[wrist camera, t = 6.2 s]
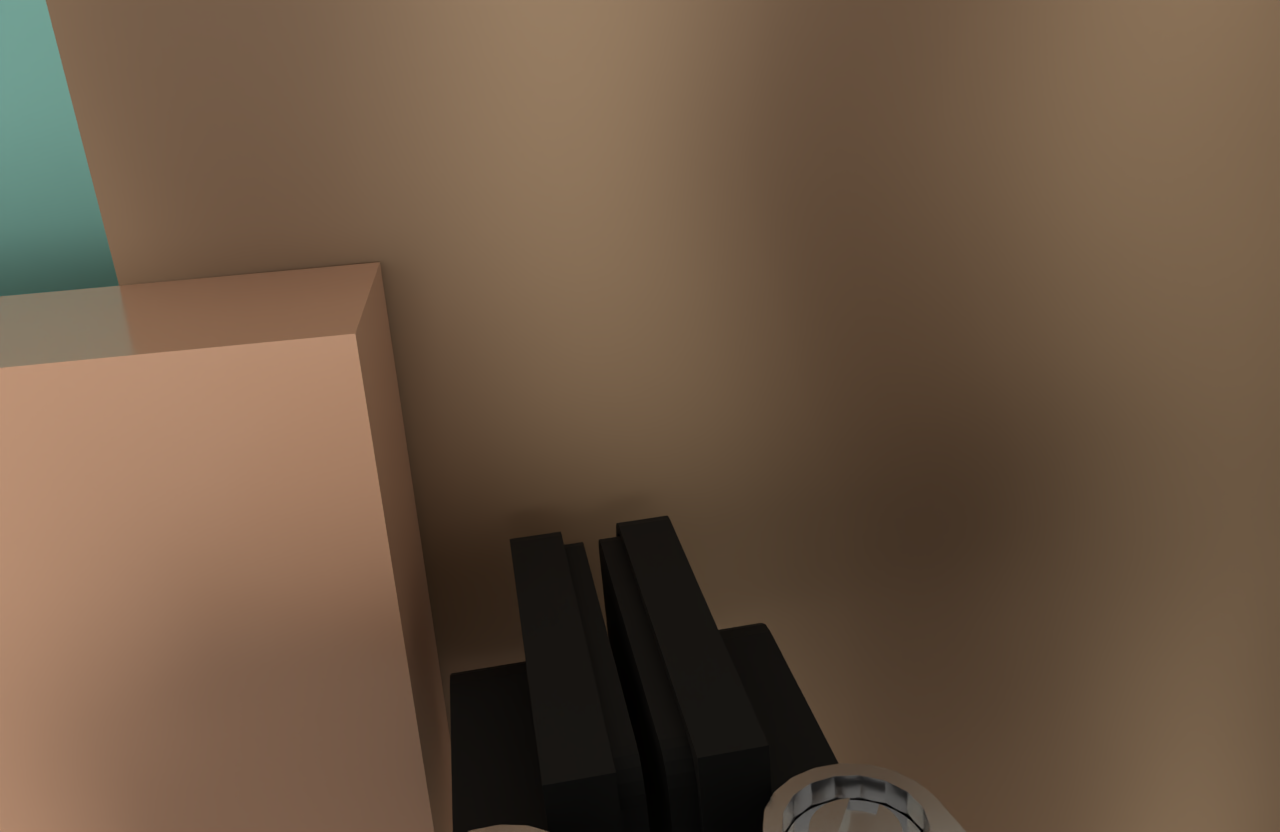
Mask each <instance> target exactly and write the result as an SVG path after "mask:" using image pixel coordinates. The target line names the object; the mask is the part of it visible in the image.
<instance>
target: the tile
mask: <svg viewBox="0 0 1280 832" xmlns="http://www.w3.org/2000/svg"><path fill="white" fill-rule="evenodd" d="M0 832H453V823H452V772H451V742H450V736H449V729H448V722H447V715H446V708H445V702H444V695H443V688H442V681H441V674H440V668H439V661H438V654H437V647H436V640H435V634H434V627H433V620H432V613H431V606H430V600H429V593H428V586H427V579H426V572H425V566H424V559H423V552H422V545H421V538H420V532H419V525H418V518H417V511H416V504H415V498H414V491H413V484H412V477H411V470H410V464H409V457H408V450H407V443H406V436H405V430H404V423H403V416H402V409H401V402H400V396H399V389H398V382H397V375H396V368H395V362H394V355H393V348H392V341H391V334H390V327H389V321H388V314H387V307H386V300H385V293H384V287H383V280H382V273H381V266H380V262H375V263H364V264H353V265H342V266H331V267H320V268H309V269H298V270H286V271H275V272H264V273H253V274H242V275H231V276H220V277H209V278H198V279H187V280H176V281H165V282H154V283H143V284H132V285H120V286H109V287H98V288H87V289H76V290H65V291H54V292H43V293H32V294H21V295H10V296H0Z"/></svg>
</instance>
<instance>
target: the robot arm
mask: <svg viewBox="0 0 1280 832" xmlns="http://www.w3.org/2000/svg"><path fill="white" fill-rule="evenodd" d="M598 543H599V556H600V565H601V575H602V584H603V593H604V602H605V612H606V621H607V630H608V634H607V630H606V626H605V623H604V619H603V615H602V611H601V607H600V604H599V600H598V596H597V592H596V589H595V585H594V581H593V577H592V573H591V570H590V566H589V562H588V558H587V554H586V551H585V547H584V543H583V542H579V543H572V544H565V545H564V543H563V538H562V534H561V531H560V532H554V533H547V534H540V535H534V536H527V537H520V538H514V539H510V547H511V554H512V562H513V569H514V577H515V584H516V592H517V599H518V607H519V615H520V622H521V630H522V637H523V645H524V652H525V660H526V661H524V662H518V663H512V664H506V665H499V666H493V667H487V668H481V669H475V670H469V671H463V672H457V673H451V675H450V721H451V772H452V823H453V832H966V831H965V830H964V829H963V828H962V826H961V825H960V824H959V823H958V822H957V821H956V820H955V818H954V817H953V816H952V815H951V814H950V813H949V812H948V810H947V809H946V808H945V807H944V806H943V805H942V803H941V802H940V801H939V800H938V799H937V798H936V797H935V796H934V795H933V794H931V793H930V792H929V791H928V790H927V789H926V788H924V787H923V786H922V785H921V784H920V783H919V782H917V781H915V780H913V779H911V778H909V777H906V776H904V775H902V774H900V773H898V772H896V771H894V770H889V769H885V768H881V767H877V766H873V765H869V764H844V763H838V761H837V759H836V757H835V755H834V753H833V751H832V749H831V747H830V746H829V744H828V742H827V740H826V738H825V736H824V734H823V732H822V730H821V728H820V726H819V724H818V722H817V720H816V718H815V717H814V715H813V713H812V711H811V709H810V707H809V705H808V703H807V701H806V699H805V697H804V695H803V693H802V691H801V689H800V688H799V686H798V684H797V682H796V680H795V678H794V676H793V674H792V672H791V670H790V668H789V666H788V664H787V662H786V660H785V659H784V657H783V655H782V653H781V651H780V649H779V647H778V645H777V643H776V641H775V639H774V637H773V635H772V633H771V632H770V630H769V629H768V627H767V626H766V624H764V623H756V624H750V625H744V626H738V627H732V628H726V629H720V630H718V628H717V625H716V623H715V621H714V619H713V616H712V614H711V612H710V609H709V607H708V605H707V603H706V600H705V598H704V596H703V593H702V591H701V589H700V587H699V584H698V582H697V580H696V577H695V575H694V573H693V571H692V568H691V566H690V564H689V562H688V559H687V557H686V555H685V552H684V550H683V548H682V546H681V543H680V541H679V539H678V536H677V534H676V532H675V530H674V527H673V525H672V523H671V520H670V518H669V517H668V515H667V516H660V517H654V518H647V519H640V520H634V521H627V522H620V523H616V537H612V538H605V539H599V542H598Z"/></svg>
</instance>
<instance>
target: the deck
mask: <svg viewBox="0 0 1280 832" xmlns="http://www.w3.org/2000/svg"><path fill="white" fill-rule="evenodd" d="M46 4H47V8H48V11H49V15H50V19H51V23H52V27H53V31H54V35H55V39H56V43H57V46H58V50H59V54H60V58H61V62H62V66H63V70H64V74H65V77H66V81H67V85H68V89H69V93H70V97H71V101H72V105H73V108H74V112H75V116H76V120H77V124H78V128H79V132H80V136H81V139H82V143H83V147H84V151H85V155H86V159H87V163H88V167H89V170H90V174H91V178H92V182H93V186H94V190H95V194H96V198H97V202H98V205H99V209H100V213H101V217H102V221H103V225H104V229H105V233H106V236H107V240H108V244H109V248H110V252H111V256H112V260H113V264H114V267H115V271H116V275H117V279H118V283H119V286H120V285H132V284H143V283H154V282H165V281H176V280H187V279H198V278H209V277H220V276H231V275H242V274H253V273H264V272H275V271H286V270H298V269H309V268H320V267H331V266H342V265H353V264H364V263H375V262H380V266H381V273H382V280H383V287H384V293H385V300H386V307H387V314H388V321H389V327H390V334H391V341H392V348H393V355H394V362H395V368H396V375H397V382H398V389H399V396H400V402H401V409H402V416H403V423H404V430H405V436H406V443H407V450H408V457H409V464H410V470H411V477H412V484H413V491H414V498H415V504H416V511H417V518H418V525H419V532H420V538H421V545H422V552H423V559H424V566H425V572H426V579H427V586H428V593H429V600H430V606H431V613H432V620H433V627H434V634H435V640H436V647H437V654H438V661H439V668H440V674H441V681H442V688H443V695H444V702H445V708H446V715H447V722H448V729H449V736H450V742H451V721H450V675H451V673H457V672H463V671H469V670H475V669H481V668H487V667H493V666H499V665H506V664H512V663H518V662H524V661H526V660H525V652H524V645H523V637H522V630H521V622H520V615H519V607H518V599H517V592H516V584H515V577H514V569H513V562H512V554H511V547H510V539H514V538H520V537H527V536H534V535H540V534H547V533H554V532H560V531H561V534H562V538H563V543H564V545H565V544H572V543H579V542H583V543H584V547H585V551H586V554H587V558H588V562H589V566H590V570H591V573H592V577H593V581H594V585H595V589H596V592H597V596H598V600H599V604H600V607H601V611H602V615H603V619H604V623H605V626H606V630H607V621H606V612H605V602H604V593H603V584H602V575H601V565H600V556H599V543H598V542H599V539H605V538H612V537H616V523H620V522H627V521H634V520H640V519H647V518H654V517H660V516H667V515H668V517H669V518H670V520H671V523H672V525H673V527H674V530H675V532H676V534H677V536H678V539H679V541H680V543H681V546H682V548H683V550H684V552H685V555H686V557H687V559H688V562H689V564H690V566H691V568H692V571H693V573H694V575H695V577H696V580H697V582H698V584H699V587H700V589H701V591H702V593H703V596H704V598H705V600H706V603H707V605H708V607H709V609H710V612H711V614H712V616H713V619H714V621H715V623H716V625H717V628H718V630H720V629H726V628H732V627H738V626H744V625H750V624H756V623H764V624H766V626H767V627H768V629H769V630H770V632H771V633H772V635H773V637H774V639H775V641H776V643H777V645H778V647H779V649H780V651H781V653H782V655H783V657H784V659H785V660H786V662H787V664H788V666H789V668H790V670H791V672H792V674H793V676H794V678H795V680H796V682H797V684H798V686H799V688H800V689H801V691H802V693H803V695H804V697H805V699H806V701H807V703H808V705H809V707H810V709H811V711H812V713H813V715H814V717H815V718H816V720H817V722H818V724H819V726H820V728H821V730H822V732H823V734H824V736H825V738H826V740H827V742H828V744H829V746H830V747H831V749H832V751H833V753H834V755H835V757H836V759H837V761H838V763H844V764H869V765H873V766H877V767H881V768H885V769H889V770H894V771H896V772H898V773H900V774H902V775H904V776H906V777H909V778H911V779H913V780H915V781H917V782H919V783H920V784H921V785H922V786H923V787H924V788H926V789H927V790H928V791H929V792H930V793H931V794H933V795H934V796H935V797H936V798H937V799H938V800H939V801H940V802H941V803H942V805H943V806H944V807H945V808H946V809H947V810H948V812H949V813H950V814H951V815H952V816H953V817H954V818H955V820H956V821H957V822H958V823H959V824H960V825H961V826H962V828H963V829H964V830H965V831H966V832H1280V0H46ZM607 634H608V630H607Z"/></svg>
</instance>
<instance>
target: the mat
mask: <svg viewBox="0 0 1280 832" xmlns="http://www.w3.org/2000/svg"><path fill="white" fill-rule="evenodd" d="M109 286H119V283H118V279H117V275H116V271H115V267H114V264H113V260H112V256H111V252H110V248H109V244H108V240H107V236H106V233H105V229H104V225H103V221H102V217H101V213H100V209H99V205H98V202H97V198H96V194H95V190H94V186H93V182H92V178H91V174H90V170H89V167H88V163H87V159H86V155H85V151H84V147H83V143H82V139H81V136H80V132H79V128H78V124H77V120H76V116H75V112H74V108H73V105H72V101H71V97H70V93H69V89H68V85H67V81H66V77H65V74H64V70H63V66H62V62H61V58H60V54H59V50H58V46H57V43H56V39H55V35H54V31H53V27H52V23H51V19H50V15H49V11H48V8H47V4H46V0H0V296H10V295H21V294H32V293H43V292H54V291H65V290H76V289H87V288H98V287H109Z"/></svg>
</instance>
